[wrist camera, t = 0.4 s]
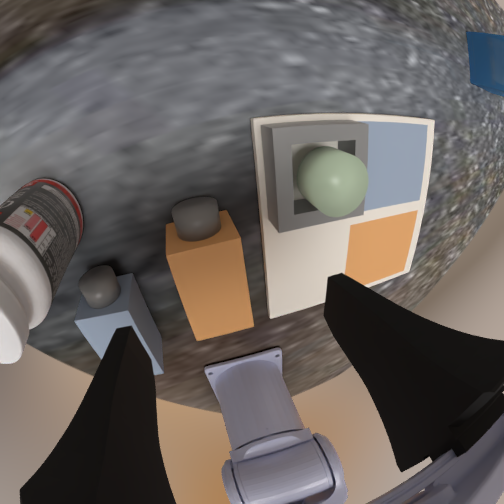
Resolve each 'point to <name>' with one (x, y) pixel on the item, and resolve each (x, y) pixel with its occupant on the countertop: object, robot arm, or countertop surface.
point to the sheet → (355, 228)
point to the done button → (332, 180)
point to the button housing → (281, 172)
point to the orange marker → (208, 268)
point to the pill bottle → (33, 257)
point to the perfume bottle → (486, 61)
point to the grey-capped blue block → (116, 312)
